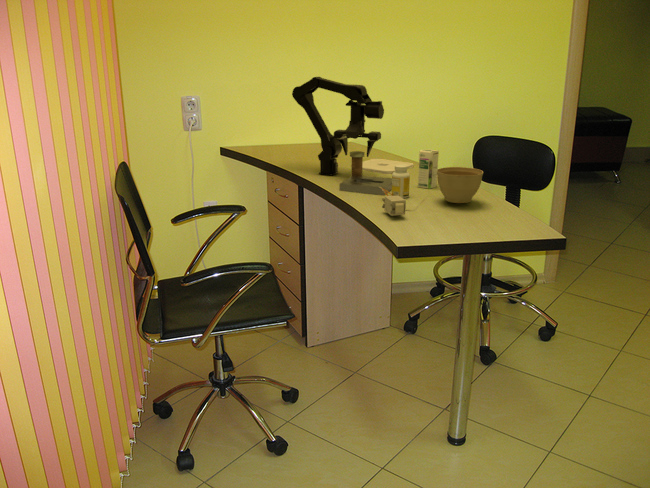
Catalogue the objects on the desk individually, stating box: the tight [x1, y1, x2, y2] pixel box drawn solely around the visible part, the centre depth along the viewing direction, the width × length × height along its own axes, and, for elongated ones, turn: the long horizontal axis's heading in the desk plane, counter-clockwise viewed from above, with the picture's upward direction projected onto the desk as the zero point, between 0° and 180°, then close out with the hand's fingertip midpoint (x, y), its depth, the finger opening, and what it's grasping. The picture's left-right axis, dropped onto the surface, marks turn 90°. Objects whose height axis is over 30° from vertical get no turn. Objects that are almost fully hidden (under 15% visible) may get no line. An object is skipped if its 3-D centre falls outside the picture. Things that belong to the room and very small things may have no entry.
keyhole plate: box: [338, 175, 392, 196], centre depth 239 cm, size 18×16×3 cm
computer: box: [350, 158, 414, 175], centre depth 274 cm, size 22×22×3 cm
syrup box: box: [417, 149, 440, 190], centre depth 240 cm, size 6×6×14 cm
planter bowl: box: [437, 166, 484, 204], centre depth 220 cm, size 16×16×11 cm
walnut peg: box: [349, 150, 365, 177], centre depth 252 cm, size 6×6×12 cm
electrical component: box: [380, 187, 407, 217], centre depth 213 cm, size 24×6×5 cm, turn 15°
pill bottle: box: [391, 165, 411, 199], centre depth 225 cm, size 6×6×12 cm
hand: (356, 156), depth 251 cm, fingers open, 9 cm apart
